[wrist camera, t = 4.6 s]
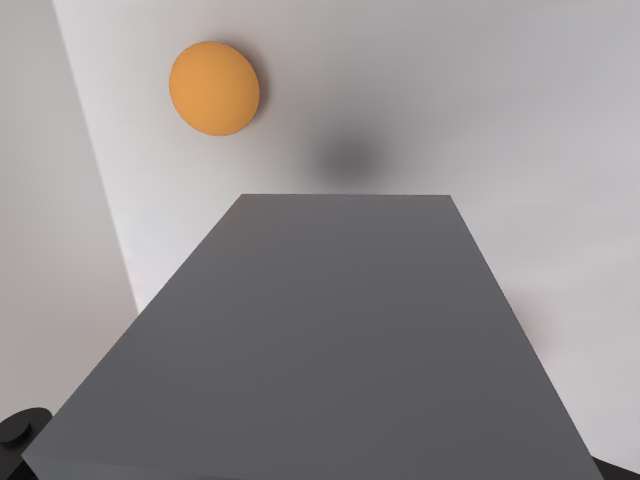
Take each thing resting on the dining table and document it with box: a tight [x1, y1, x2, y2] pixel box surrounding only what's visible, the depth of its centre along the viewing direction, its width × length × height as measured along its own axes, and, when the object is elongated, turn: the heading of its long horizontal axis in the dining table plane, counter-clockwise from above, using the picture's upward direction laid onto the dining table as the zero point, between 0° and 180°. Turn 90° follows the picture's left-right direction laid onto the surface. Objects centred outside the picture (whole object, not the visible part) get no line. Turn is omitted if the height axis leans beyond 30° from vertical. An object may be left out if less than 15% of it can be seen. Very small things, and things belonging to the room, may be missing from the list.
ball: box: [169, 42, 260, 136], centre depth 21 cm, size 5×5×5 cm
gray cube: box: [21, 194, 604, 480], centre depth 9 cm, size 7×7×9 cm
